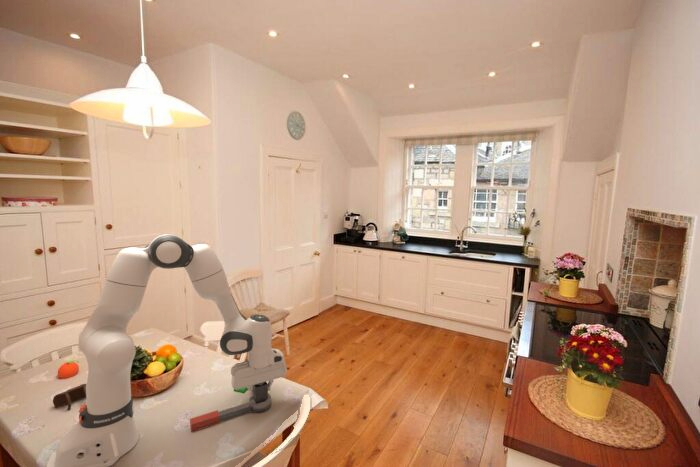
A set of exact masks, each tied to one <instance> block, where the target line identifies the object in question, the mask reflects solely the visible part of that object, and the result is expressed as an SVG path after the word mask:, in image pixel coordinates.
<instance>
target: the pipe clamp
mask: <svg viewBox="0 0 700 467" xmlns="http://www.w3.org/2000/svg"><path fill="white" fill-rule="evenodd" d="M247 390H248V388H247V387H245V388H242V389H238V390H235V389H234V388H233V392H235V393H240V394H245V392H246V391H247Z"/></svg>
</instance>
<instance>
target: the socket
mask: <svg viewBox="0 0 700 467" xmlns="http://www.w3.org/2000/svg"><path fill="white" fill-rule="evenodd" d="M251 389H254V391H255V393H254V394H255V395H253V396H251V397H253V399H254V401H255V403H257V402H260V401H264V400H267V399H268V394H269V391H268V381H266V382H263V383H259V384H256V385H252V388H251Z"/></svg>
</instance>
